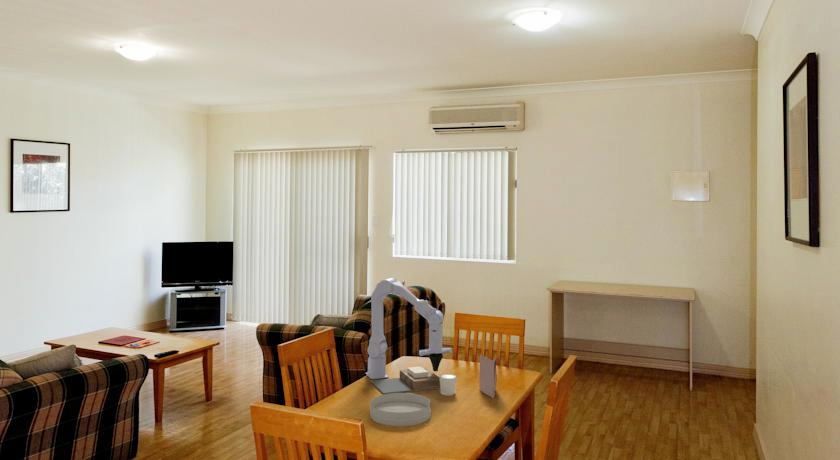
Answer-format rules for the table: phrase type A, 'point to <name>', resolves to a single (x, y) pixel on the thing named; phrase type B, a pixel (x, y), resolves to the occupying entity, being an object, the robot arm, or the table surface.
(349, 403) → the table surface
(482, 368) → the greeting card
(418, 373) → the tile
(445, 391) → the white cup
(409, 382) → the platform
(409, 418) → the dish
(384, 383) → the mat
